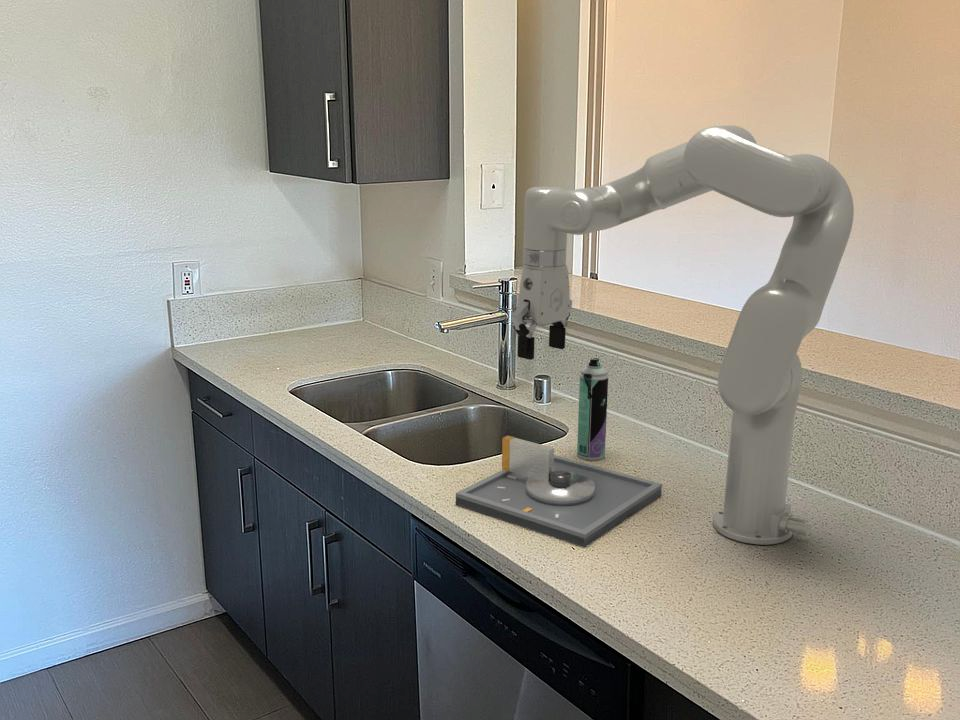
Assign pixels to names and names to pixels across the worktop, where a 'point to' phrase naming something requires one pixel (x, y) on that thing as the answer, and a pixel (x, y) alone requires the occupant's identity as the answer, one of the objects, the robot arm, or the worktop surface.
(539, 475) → the dial
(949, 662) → the worktop surface
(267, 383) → the worktop surface
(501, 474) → the panel
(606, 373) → the spray can
